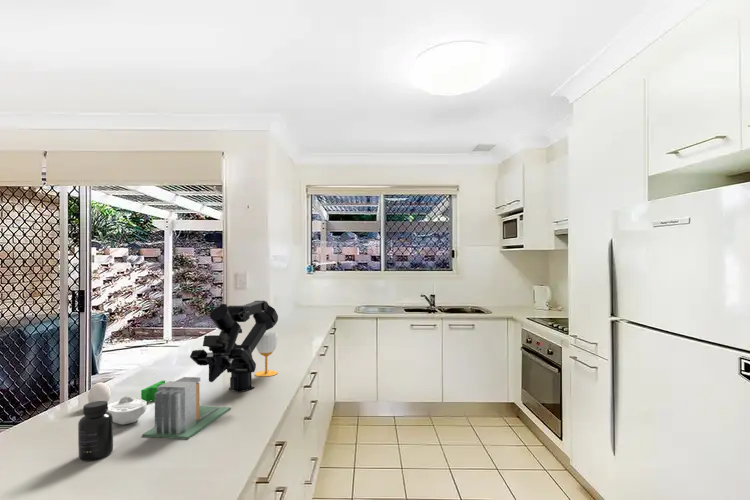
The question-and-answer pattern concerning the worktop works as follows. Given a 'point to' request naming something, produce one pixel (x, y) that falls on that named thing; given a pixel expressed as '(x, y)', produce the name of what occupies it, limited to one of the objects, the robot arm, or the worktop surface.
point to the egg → (99, 393)
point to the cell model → (127, 410)
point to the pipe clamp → (150, 392)
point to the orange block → (197, 401)
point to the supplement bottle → (95, 432)
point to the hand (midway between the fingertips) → (210, 381)
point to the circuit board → (198, 427)
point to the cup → (267, 351)
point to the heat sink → (177, 406)
